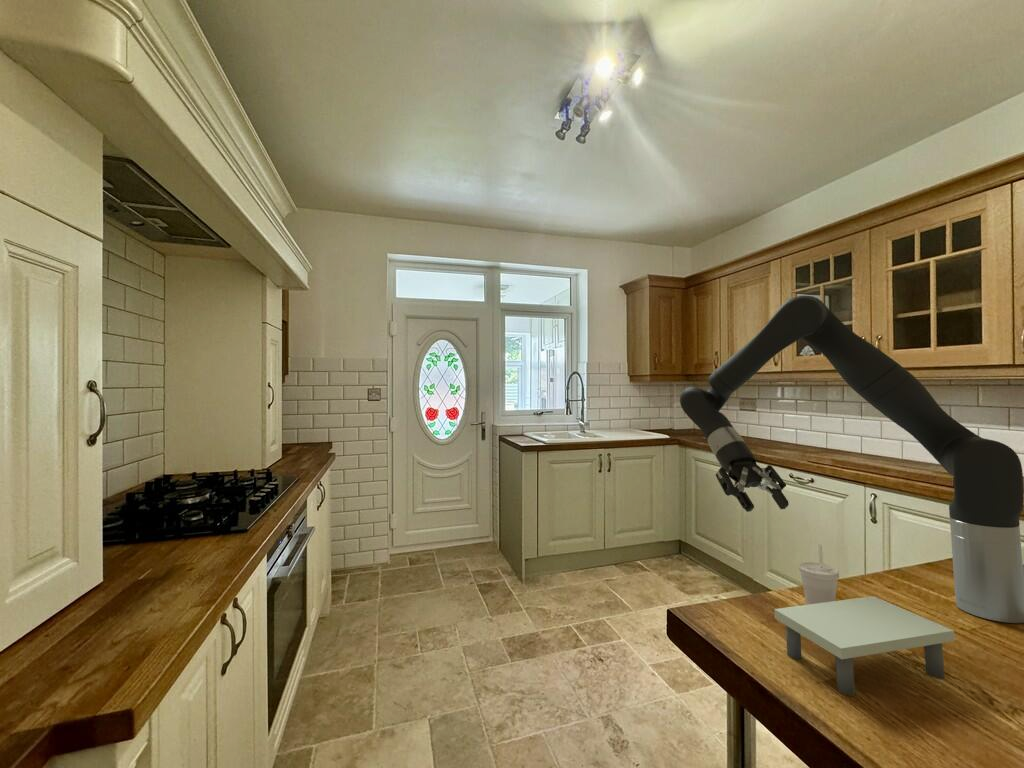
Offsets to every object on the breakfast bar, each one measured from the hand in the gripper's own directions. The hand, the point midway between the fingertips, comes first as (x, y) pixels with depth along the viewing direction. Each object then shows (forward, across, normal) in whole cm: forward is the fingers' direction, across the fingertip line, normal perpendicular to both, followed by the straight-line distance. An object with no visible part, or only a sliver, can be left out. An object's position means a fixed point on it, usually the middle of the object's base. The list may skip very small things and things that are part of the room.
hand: (768, 508), depth 95 cm
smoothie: (+21, 0, +5) cm, 22 cm away
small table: (+30, -6, -5) cm, 31 cm away
